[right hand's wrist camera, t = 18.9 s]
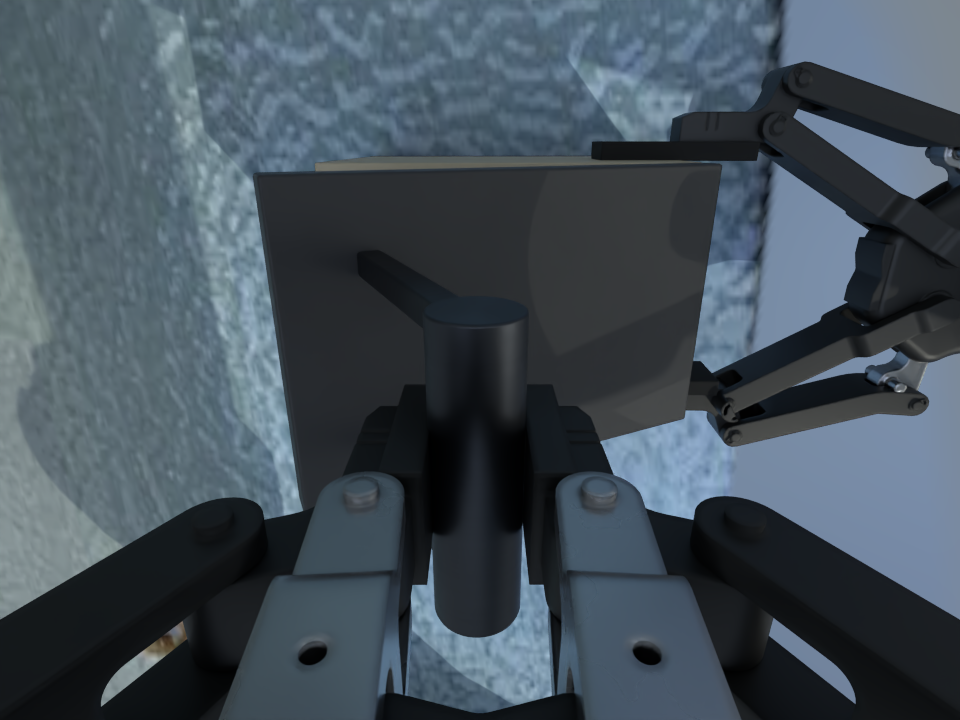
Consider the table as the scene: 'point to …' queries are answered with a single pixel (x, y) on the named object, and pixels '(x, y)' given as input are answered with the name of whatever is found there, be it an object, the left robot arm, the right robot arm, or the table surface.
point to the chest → (469, 162)
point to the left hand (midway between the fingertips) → (587, 272)
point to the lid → (482, 327)
